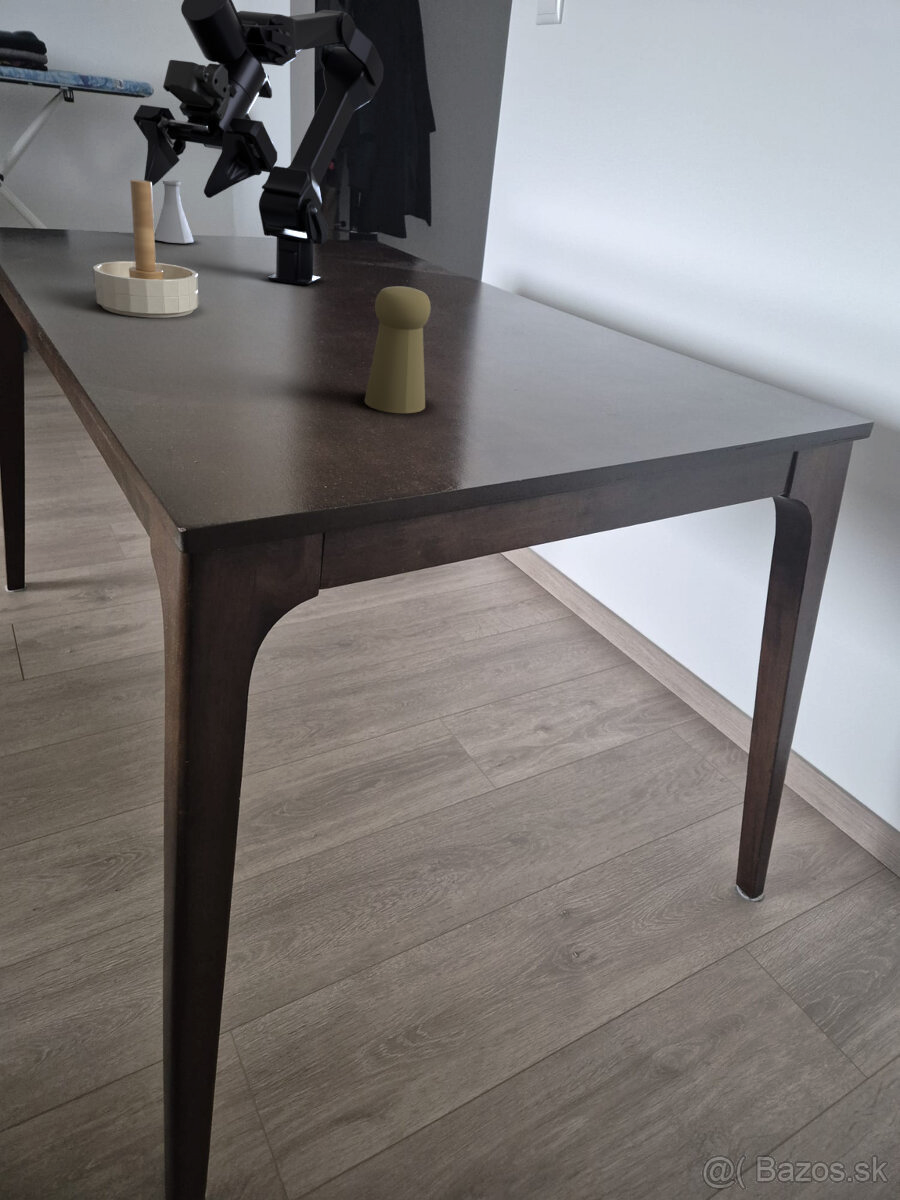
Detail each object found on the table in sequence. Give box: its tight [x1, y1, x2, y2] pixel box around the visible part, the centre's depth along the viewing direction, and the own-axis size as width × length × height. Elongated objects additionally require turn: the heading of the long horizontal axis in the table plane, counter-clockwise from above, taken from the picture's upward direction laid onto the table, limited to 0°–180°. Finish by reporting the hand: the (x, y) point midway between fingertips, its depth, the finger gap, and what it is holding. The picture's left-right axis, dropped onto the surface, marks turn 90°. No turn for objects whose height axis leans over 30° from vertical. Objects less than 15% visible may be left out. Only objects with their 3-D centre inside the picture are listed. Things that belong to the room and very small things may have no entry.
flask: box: [154, 179, 195, 244], centre depth 155 cm, size 7×7×10 cm
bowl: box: [92, 260, 200, 319], centre depth 109 cm, size 12×12×4 cm
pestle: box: [129, 179, 163, 280], centre depth 106 cm, size 4×4×14 cm
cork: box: [364, 285, 432, 414], centre depth 83 cm, size 6×6×11 cm
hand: (176, 189), depth 108 cm, fingers open, 9 cm apart
